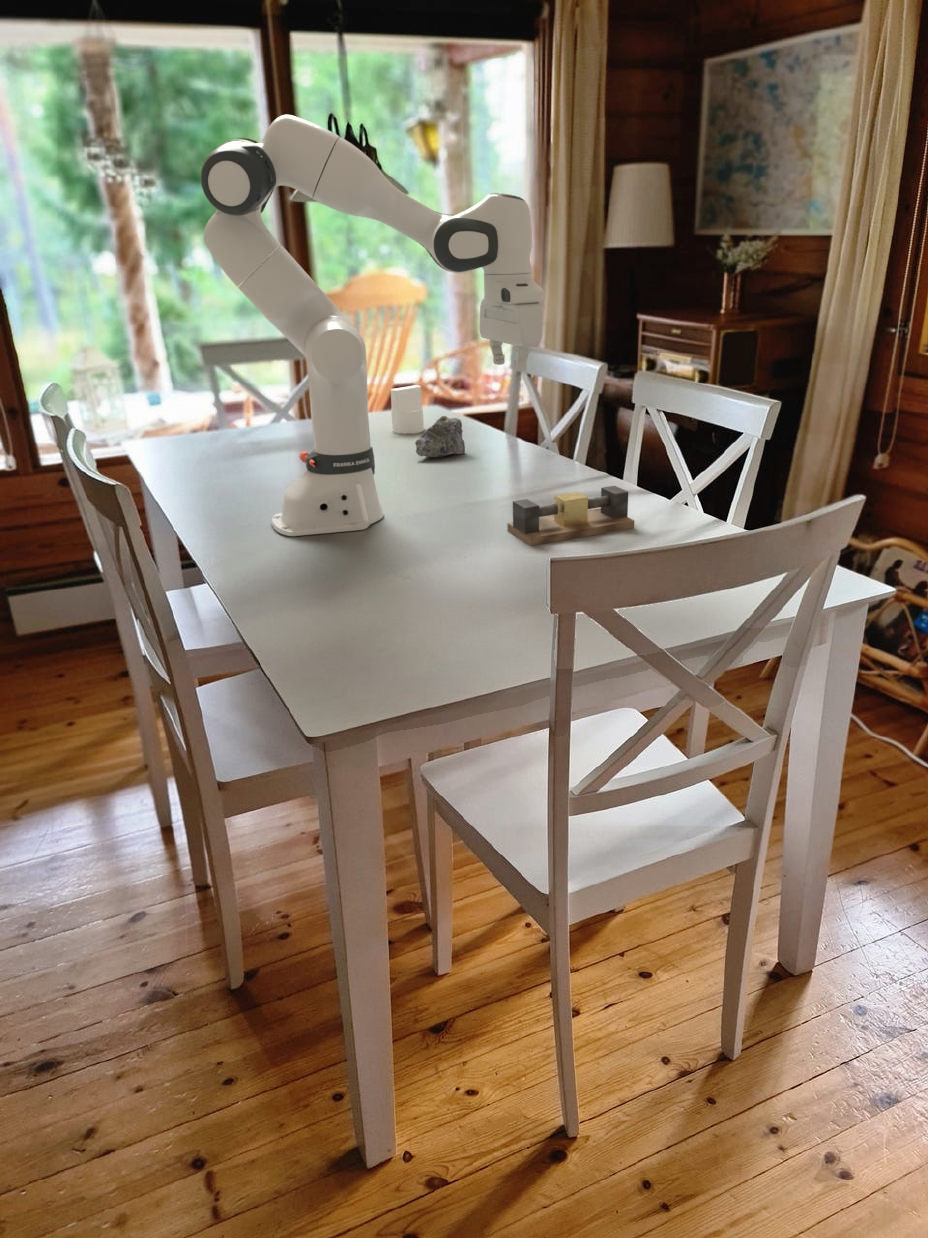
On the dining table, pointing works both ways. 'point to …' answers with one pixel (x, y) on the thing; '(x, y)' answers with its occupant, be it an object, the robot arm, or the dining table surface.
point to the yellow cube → (571, 509)
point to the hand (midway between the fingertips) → (509, 367)
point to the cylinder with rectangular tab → (407, 409)
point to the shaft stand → (548, 530)
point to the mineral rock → (442, 439)
